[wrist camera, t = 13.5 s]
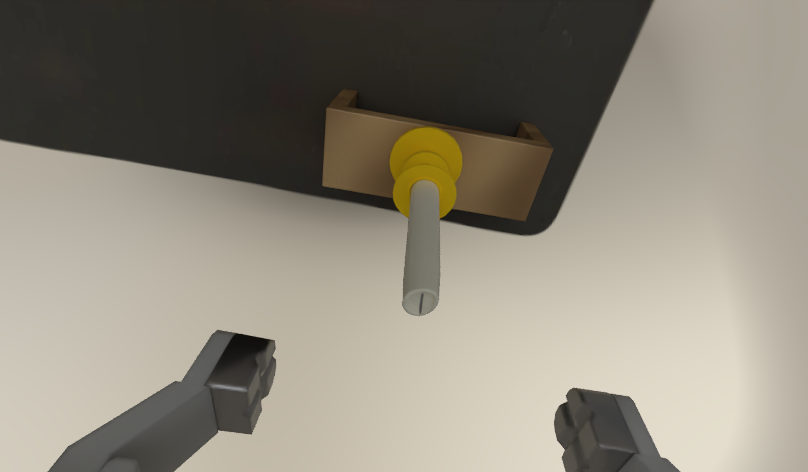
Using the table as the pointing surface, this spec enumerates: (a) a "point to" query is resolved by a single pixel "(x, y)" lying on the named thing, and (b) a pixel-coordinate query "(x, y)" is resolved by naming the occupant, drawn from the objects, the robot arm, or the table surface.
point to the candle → (424, 207)
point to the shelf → (481, 151)
